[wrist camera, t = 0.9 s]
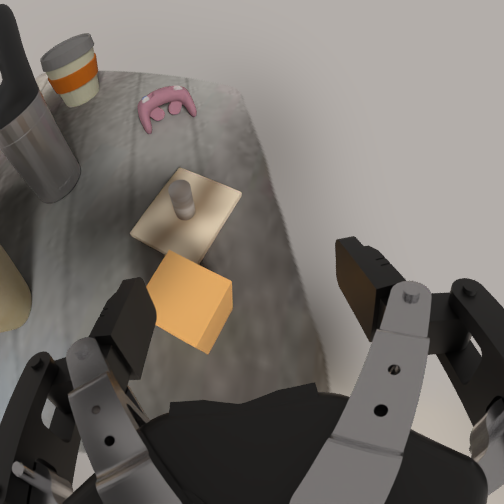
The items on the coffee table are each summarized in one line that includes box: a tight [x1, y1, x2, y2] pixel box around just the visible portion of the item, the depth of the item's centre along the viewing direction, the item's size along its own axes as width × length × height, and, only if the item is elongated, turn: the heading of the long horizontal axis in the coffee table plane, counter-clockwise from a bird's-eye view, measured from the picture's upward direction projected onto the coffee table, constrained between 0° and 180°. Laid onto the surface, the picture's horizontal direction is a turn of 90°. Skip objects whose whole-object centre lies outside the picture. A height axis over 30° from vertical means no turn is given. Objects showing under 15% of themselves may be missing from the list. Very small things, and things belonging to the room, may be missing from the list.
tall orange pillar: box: [146, 250, 233, 354], centre depth 26 cm, size 6×6×10 cm
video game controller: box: [138, 86, 197, 134], centre depth 42 cm, size 10×5×7 cm, turn 120°
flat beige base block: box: [130, 168, 241, 265], centre depth 33 cm, size 10×12×6 cm
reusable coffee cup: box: [41, 33, 99, 107], centre depth 41 cm, size 13×13×15 cm
